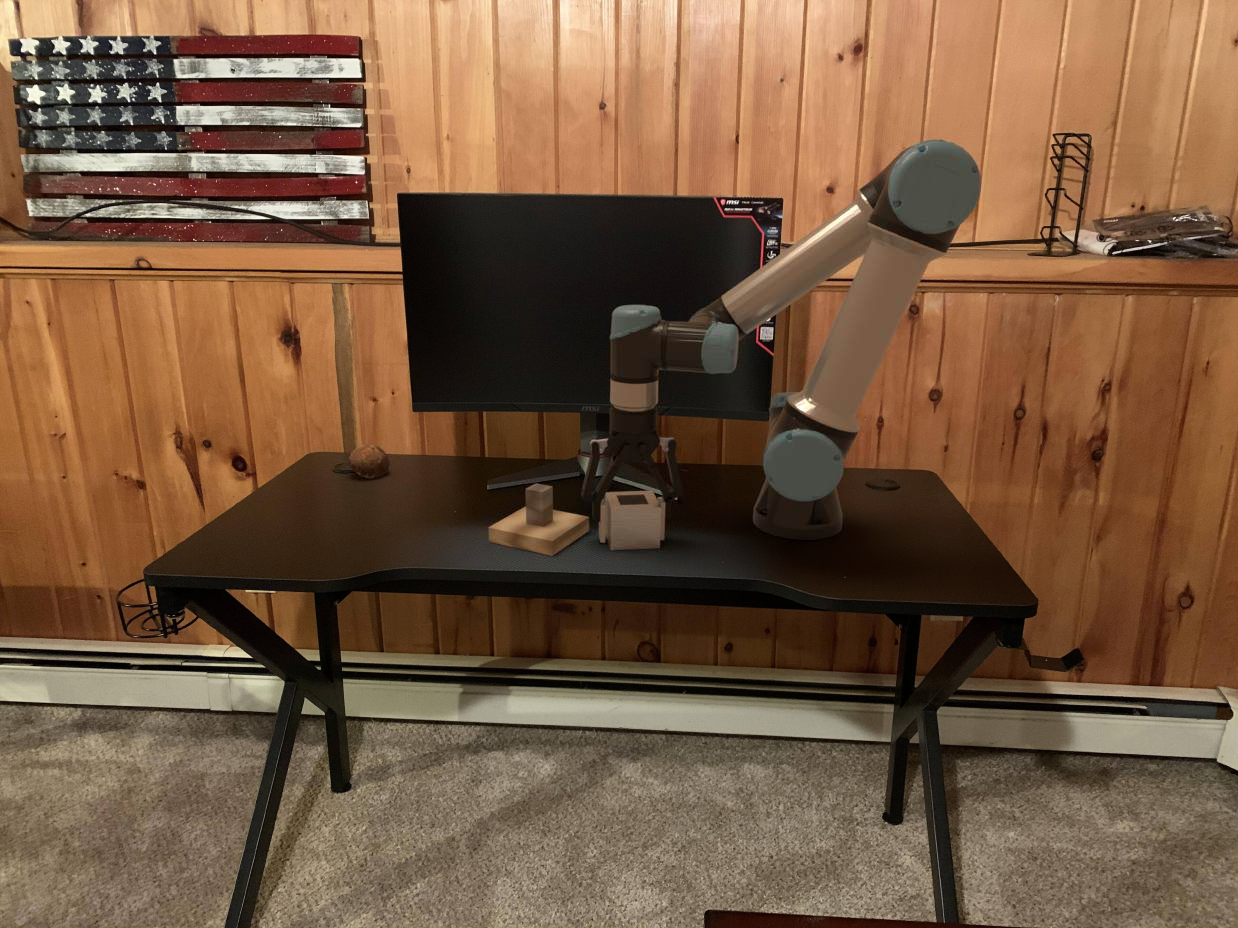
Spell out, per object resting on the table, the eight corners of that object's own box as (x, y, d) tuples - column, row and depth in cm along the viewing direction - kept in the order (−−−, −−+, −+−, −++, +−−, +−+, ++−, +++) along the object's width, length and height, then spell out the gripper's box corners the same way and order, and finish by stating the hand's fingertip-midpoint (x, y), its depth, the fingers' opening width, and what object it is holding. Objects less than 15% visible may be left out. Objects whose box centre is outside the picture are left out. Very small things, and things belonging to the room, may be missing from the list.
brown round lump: (343, 454, 184) (354, 433, 180) (381, 464, 188) (393, 443, 184) (342, 483, 178) (353, 462, 175) (381, 493, 182) (394, 472, 179)
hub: (651, 529, 156) (652, 490, 154) (659, 548, 148) (661, 507, 146) (604, 531, 155) (604, 492, 153) (610, 550, 147) (611, 509, 145)
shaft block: (589, 530, 155) (589, 483, 152) (552, 555, 145) (551, 505, 142) (528, 518, 160) (527, 471, 158) (488, 541, 150) (487, 492, 147)
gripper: (696, 398, 150) (691, 527, 157) (562, 401, 147) (563, 532, 154) (706, 409, 143) (701, 544, 150) (566, 413, 140) (567, 550, 147)
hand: (631, 538), depth 152 cm, fingers open, 9 cm apart
